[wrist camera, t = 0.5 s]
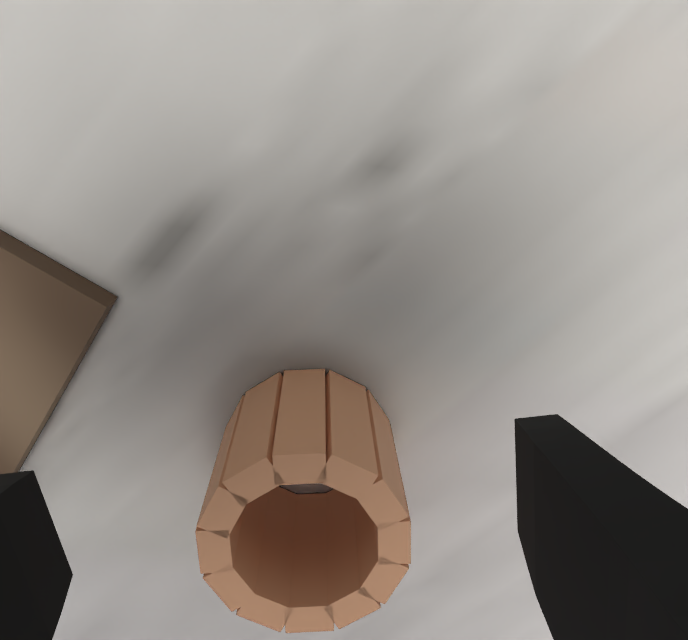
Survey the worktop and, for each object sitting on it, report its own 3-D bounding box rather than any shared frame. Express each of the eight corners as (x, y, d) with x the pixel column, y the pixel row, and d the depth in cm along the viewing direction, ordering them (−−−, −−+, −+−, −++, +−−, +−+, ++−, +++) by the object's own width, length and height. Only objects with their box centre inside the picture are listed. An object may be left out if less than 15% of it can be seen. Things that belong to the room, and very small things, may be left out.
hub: (285, 539, 22) (275, 662, 17) (193, 423, 20) (154, 521, 15) (419, 466, 21) (448, 572, 16) (334, 338, 19) (338, 415, 15)
